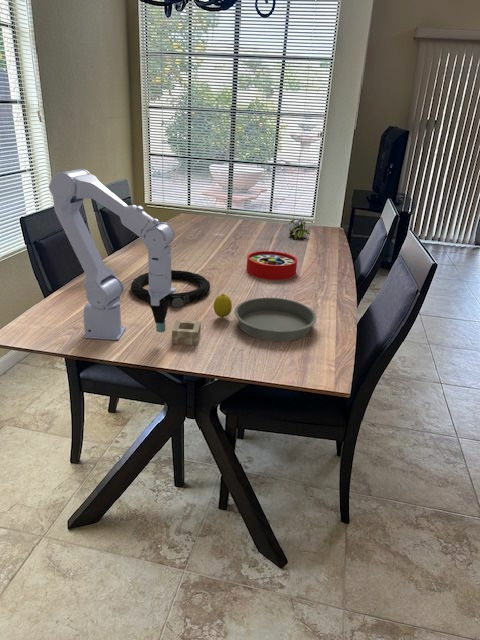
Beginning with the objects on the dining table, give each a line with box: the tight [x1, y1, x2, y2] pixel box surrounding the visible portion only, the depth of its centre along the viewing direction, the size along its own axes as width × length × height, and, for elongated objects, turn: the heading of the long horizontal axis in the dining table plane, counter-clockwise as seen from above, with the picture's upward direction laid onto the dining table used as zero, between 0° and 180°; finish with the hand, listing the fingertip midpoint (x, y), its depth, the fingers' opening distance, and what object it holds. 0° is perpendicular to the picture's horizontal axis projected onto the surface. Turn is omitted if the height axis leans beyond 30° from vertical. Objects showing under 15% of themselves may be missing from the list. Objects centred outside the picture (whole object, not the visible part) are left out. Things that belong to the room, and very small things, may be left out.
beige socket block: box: [171, 319, 202, 346], centre depth 128 cm, size 7×7×4 cm
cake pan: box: [234, 297, 317, 342], centre depth 139 cm, size 25×25×4 cm
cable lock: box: [130, 269, 211, 309], centre depth 161 cm, size 28×4×30 cm
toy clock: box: [246, 250, 298, 281], centre depth 186 cm, size 20×6×20 cm
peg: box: [155, 298, 166, 333], centre depth 123 cm, size 2×2×9 cm
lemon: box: [213, 293, 233, 319], centre depth 141 cm, size 6×6×8 cm
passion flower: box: [288, 218, 310, 240], centre depth 239 cm, size 11×11×12 cm
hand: (160, 320), depth 123 cm, fingers closed on peg, 2 cm apart
